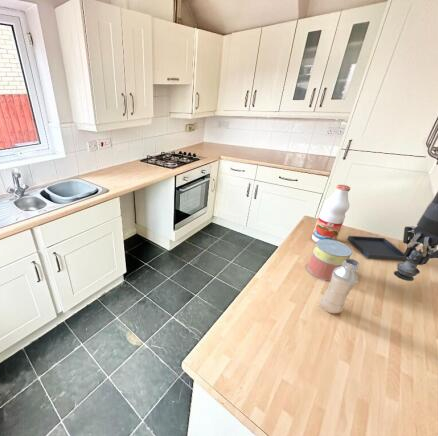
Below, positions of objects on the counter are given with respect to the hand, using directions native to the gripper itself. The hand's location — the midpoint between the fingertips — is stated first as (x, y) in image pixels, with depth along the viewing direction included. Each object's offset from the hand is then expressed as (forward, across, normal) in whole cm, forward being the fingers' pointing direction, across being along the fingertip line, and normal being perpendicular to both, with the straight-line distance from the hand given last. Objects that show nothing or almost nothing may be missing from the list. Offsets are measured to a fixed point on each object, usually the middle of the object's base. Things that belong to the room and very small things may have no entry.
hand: (413, 260), depth 84 cm
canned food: (+13, +10, +21) cm, 26 cm away
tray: (+13, +23, -12) cm, 29 cm away
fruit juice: (+13, +32, +7) cm, 35 cm away
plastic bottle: (+12, -9, +31) cm, 35 cm away
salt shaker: (+7, 0, 0) cm, 7 cm away
